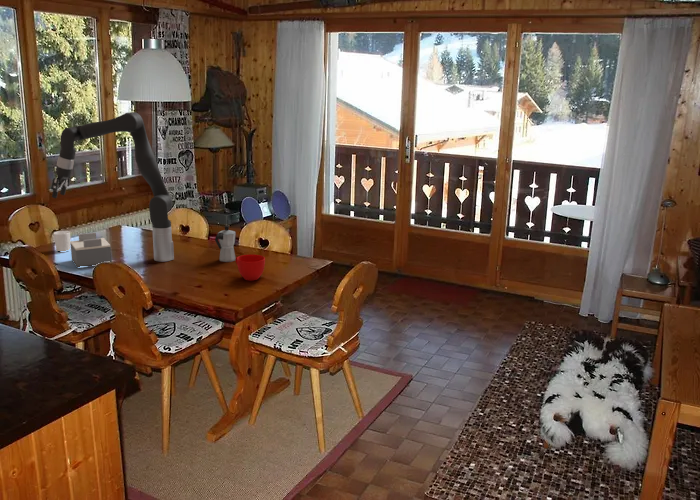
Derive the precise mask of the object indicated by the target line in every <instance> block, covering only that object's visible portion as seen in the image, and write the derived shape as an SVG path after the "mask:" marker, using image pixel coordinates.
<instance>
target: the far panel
mask: <svg viewBox="0 0 700 500" xmlns="http://www.w3.org/2000/svg"><path fill="white" fill-rule="evenodd" d="M100 238H101V242H108V241H107V240H106V238H105V237H100ZM89 239H99V238H97V233H96V232H86V233H78V240H70V243H71V244H72V246H73V245H78V244H83V240H89ZM71 244H70V245H71Z"/></svg>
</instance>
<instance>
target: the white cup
mask: <svg viewBox="0 0 700 500" xmlns="http://www.w3.org/2000/svg"><path fill="white" fill-rule="evenodd" d="M53 238H54V245H55V250H57V251H66V250H69V249H70V250H71V244H70V241H71V231H69V230H58V231H54V232H53ZM57 251H56V252H57Z"/></svg>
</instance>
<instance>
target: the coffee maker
mask: <svg viewBox="0 0 700 500" xmlns="http://www.w3.org/2000/svg"><path fill="white" fill-rule="evenodd" d="M229 228H230V226H229V225H224V229H223V230H221V231H219V232H217V235H215V237H214V241H215V244H216V245H217V247H218V249H219V250H220V253H219V262H224V263H232V262H236V254H235V253H236V252H235V249H234V245H235V241H236V231H235V230H230V229H229Z"/></svg>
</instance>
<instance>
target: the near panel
mask: <svg viewBox="0 0 700 500" xmlns="http://www.w3.org/2000/svg"><path fill="white" fill-rule="evenodd" d="M101 238H102V237H100V238H99V239H98V238H96V239H89V240H83V244H78V245H73V247H74V249H75V250H85V249H94V248H103V247H111V244H110V243H109V242H108V241H107V242H101Z"/></svg>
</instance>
